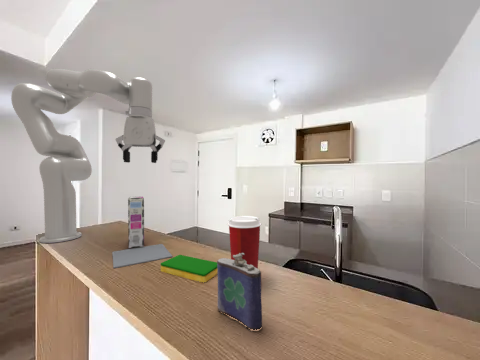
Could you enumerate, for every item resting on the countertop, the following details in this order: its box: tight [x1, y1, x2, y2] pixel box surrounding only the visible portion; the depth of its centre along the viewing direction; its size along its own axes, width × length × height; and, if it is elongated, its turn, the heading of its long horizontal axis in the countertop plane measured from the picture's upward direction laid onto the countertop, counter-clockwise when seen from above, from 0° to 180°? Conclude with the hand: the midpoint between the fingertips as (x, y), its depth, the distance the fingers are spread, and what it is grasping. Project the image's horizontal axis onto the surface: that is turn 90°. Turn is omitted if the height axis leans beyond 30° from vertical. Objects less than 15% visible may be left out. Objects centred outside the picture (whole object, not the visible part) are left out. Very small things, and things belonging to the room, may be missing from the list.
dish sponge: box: [160, 254, 218, 284], centre depth 55 cm, size 7×14×2 cm, turn 62°
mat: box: [111, 243, 173, 269], centre depth 67 cm, size 14×15×1 cm
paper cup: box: [226, 215, 262, 269], centre depth 50 cm, size 8×8×14 cm
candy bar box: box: [127, 196, 145, 249], centre depth 77 cm, size 11×5×16 cm, turn 25°
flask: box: [216, 253, 263, 330], centre depth 37 cm, size 9×3×11 cm, turn 48°
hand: (140, 162), depth 80 cm, fingers open, 9 cm apart
